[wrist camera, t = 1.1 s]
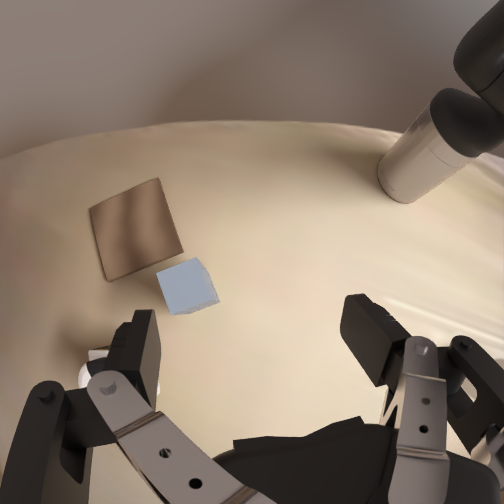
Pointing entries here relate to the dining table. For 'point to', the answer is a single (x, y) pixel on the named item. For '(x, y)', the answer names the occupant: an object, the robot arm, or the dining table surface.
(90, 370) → the medicine bottle
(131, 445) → the robot arm
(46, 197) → the dining table surface
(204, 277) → the block
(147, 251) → the board
